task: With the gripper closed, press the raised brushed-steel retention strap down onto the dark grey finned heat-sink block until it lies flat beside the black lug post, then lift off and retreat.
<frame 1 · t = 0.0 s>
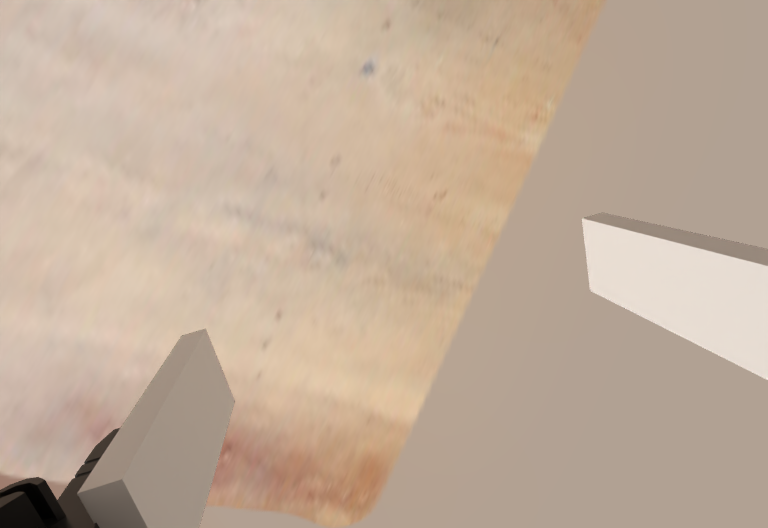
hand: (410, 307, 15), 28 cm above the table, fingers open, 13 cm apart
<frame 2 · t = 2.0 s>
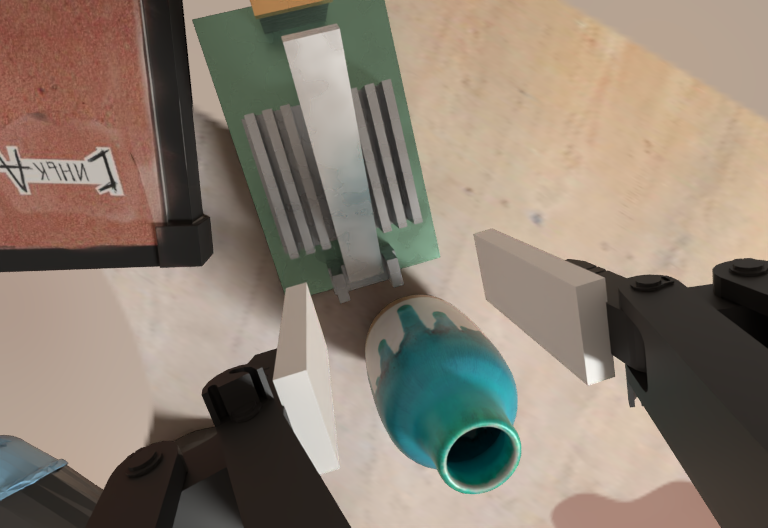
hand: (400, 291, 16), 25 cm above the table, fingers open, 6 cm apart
heatsink: (329, 151, 39), on the table
vase: (409, 330, 45), on the table
brown labeled slab: (85, 96, 35), on the table
strap: (344, 183, 30), point 10 cm above the table, hinge at 32.0°
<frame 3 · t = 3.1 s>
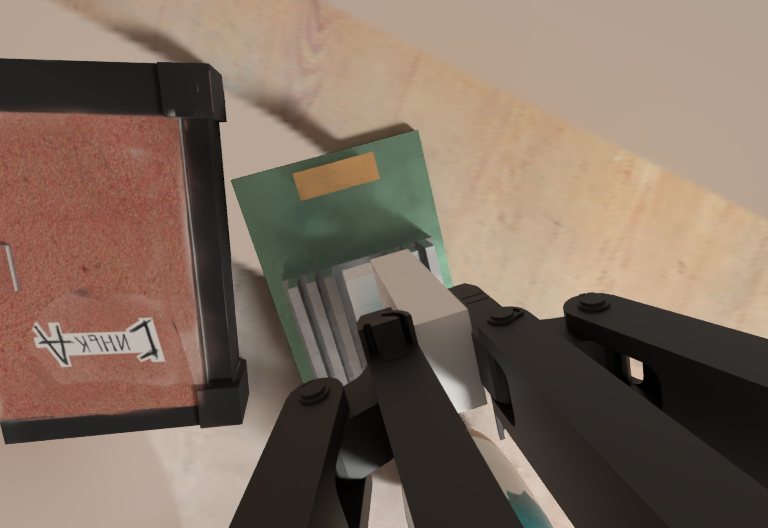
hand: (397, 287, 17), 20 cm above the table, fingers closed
heatsink: (365, 291, 38), on the table
vase: (442, 453, 44), on the table
brown labeled slab: (123, 251, 35), on the table
strap: (392, 362, 30), point 10 cm above the table, hinge at 32.0°
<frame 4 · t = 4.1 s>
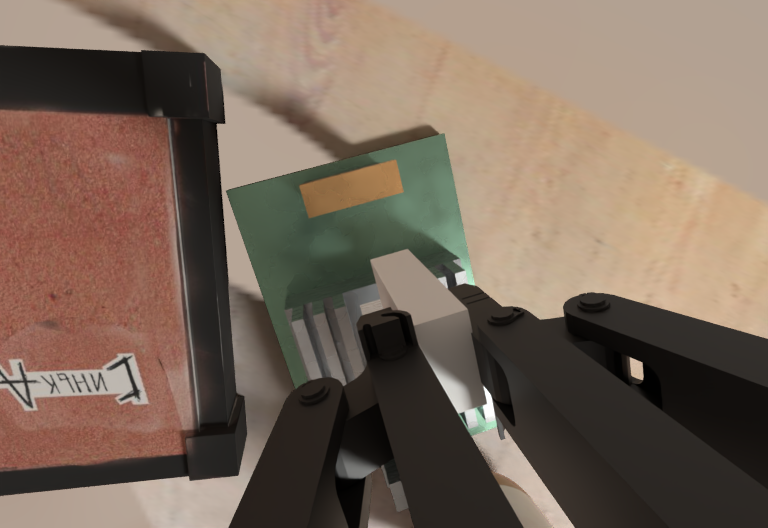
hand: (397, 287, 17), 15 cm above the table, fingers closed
heatsink: (379, 317, 33), on the table
vase: (463, 497, 39), on the table
brown labeled slab: (102, 272, 30), on the table
strap: (414, 408, 25), point 9 cm above the table, hinge at 30.6°, touching gripper
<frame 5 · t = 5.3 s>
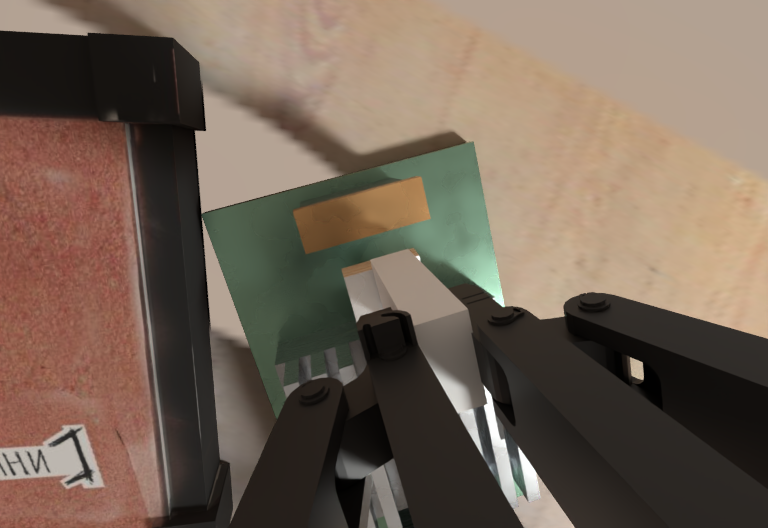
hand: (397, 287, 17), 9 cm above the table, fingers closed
heatsink: (392, 365, 27), on the table
brown labeled slab: (52, 315, 24), on the table
strap: (421, 437, 21), point 6 cm above the table, hinge at 11.7°, touching gripper
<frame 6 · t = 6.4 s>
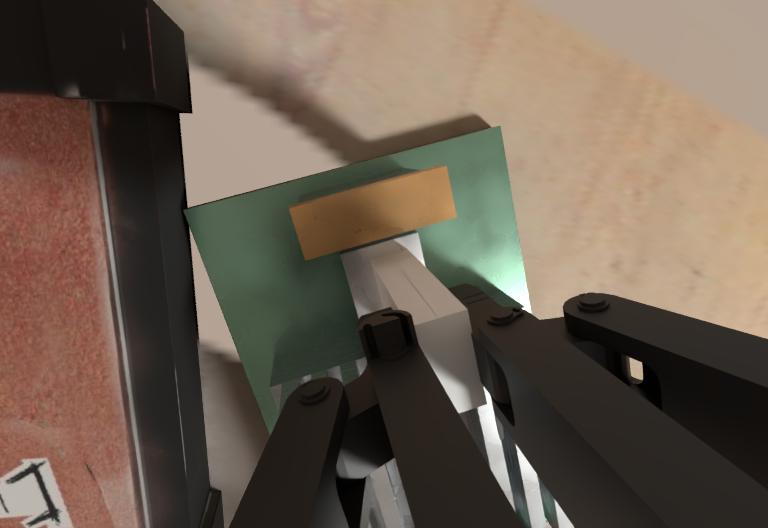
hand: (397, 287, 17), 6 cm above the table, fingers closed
heatsink: (403, 380, 24), on the table
brown labeled slab: (16, 325, 21), on the table
strap: (429, 445, 20), point 5 cm above the table, hinge at 2.7°, touching gripper
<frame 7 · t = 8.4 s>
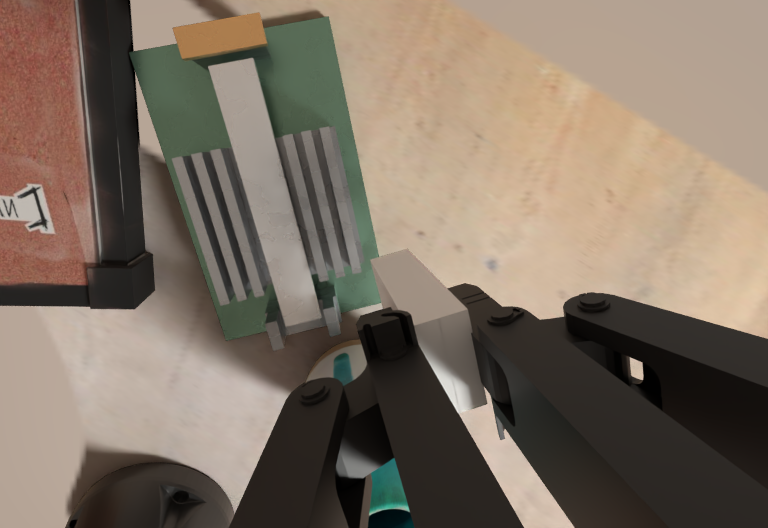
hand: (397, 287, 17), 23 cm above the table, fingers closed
heatsink: (274, 189, 37), on the table
vase: (355, 372, 43), on the table
brown labeled slab: (26, 125, 34), on the table
strap: (271, 204, 33), point 5 cm above the table, hinge at 2.6°
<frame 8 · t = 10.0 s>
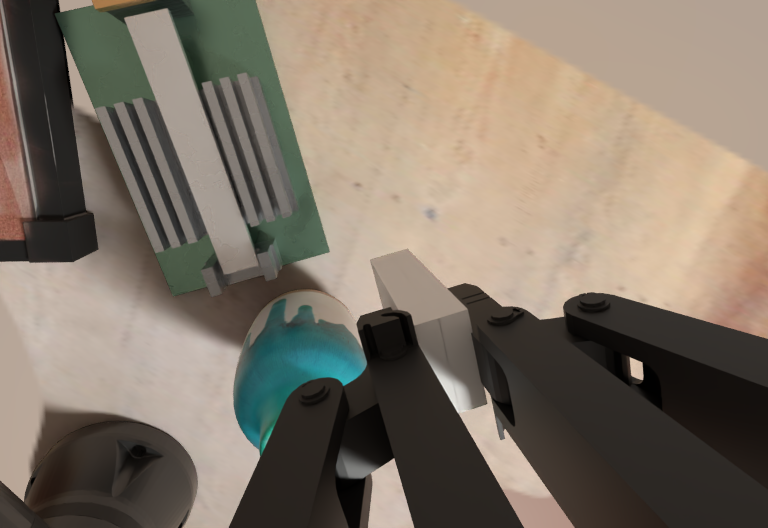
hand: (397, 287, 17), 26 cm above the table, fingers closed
heatsink: (209, 146, 39), on the table
vase: (305, 325, 45), on the table
strap: (199, 153, 34), point 5 cm above the table, hinge at 2.6°
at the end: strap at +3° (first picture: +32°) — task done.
